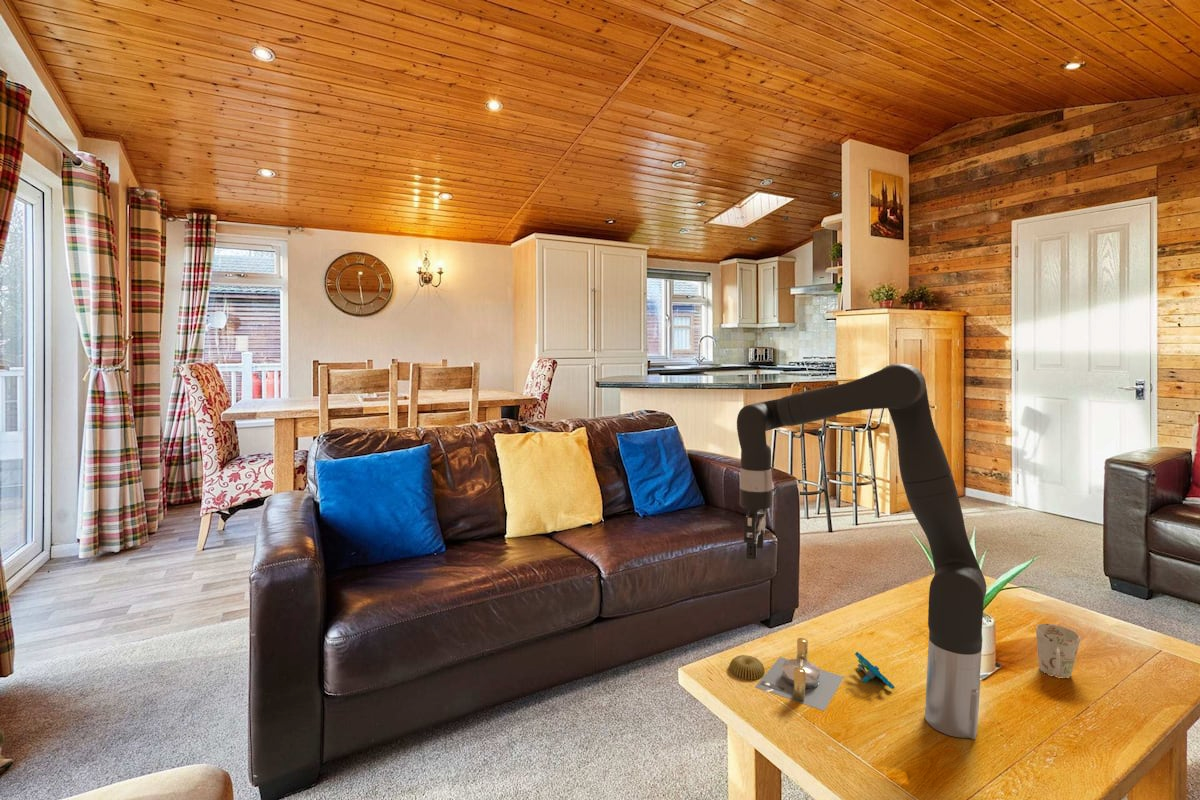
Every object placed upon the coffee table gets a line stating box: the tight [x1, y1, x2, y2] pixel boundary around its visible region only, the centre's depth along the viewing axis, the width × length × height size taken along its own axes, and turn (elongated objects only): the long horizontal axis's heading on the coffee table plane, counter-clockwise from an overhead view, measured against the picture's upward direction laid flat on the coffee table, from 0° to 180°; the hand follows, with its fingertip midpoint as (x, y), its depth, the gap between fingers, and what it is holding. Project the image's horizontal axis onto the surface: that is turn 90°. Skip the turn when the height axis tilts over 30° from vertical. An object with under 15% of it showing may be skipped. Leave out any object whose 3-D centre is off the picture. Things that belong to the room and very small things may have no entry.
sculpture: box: [728, 654, 766, 681], centre depth 141 cm, size 8×4×8 cm
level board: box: [755, 656, 845, 712], centre depth 136 cm, size 15×18×2 cm
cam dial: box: [782, 637, 820, 700], centre depth 136 cm, size 16×8×6 cm, turn 159°
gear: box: [854, 651, 895, 689], centre depth 137 cm, size 11×6×10 cm
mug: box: [1035, 623, 1081, 678], centre depth 141 cm, size 8×13×10 cm, turn 148°
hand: (755, 553), depth 145 cm, fingers open, 8 cm apart
